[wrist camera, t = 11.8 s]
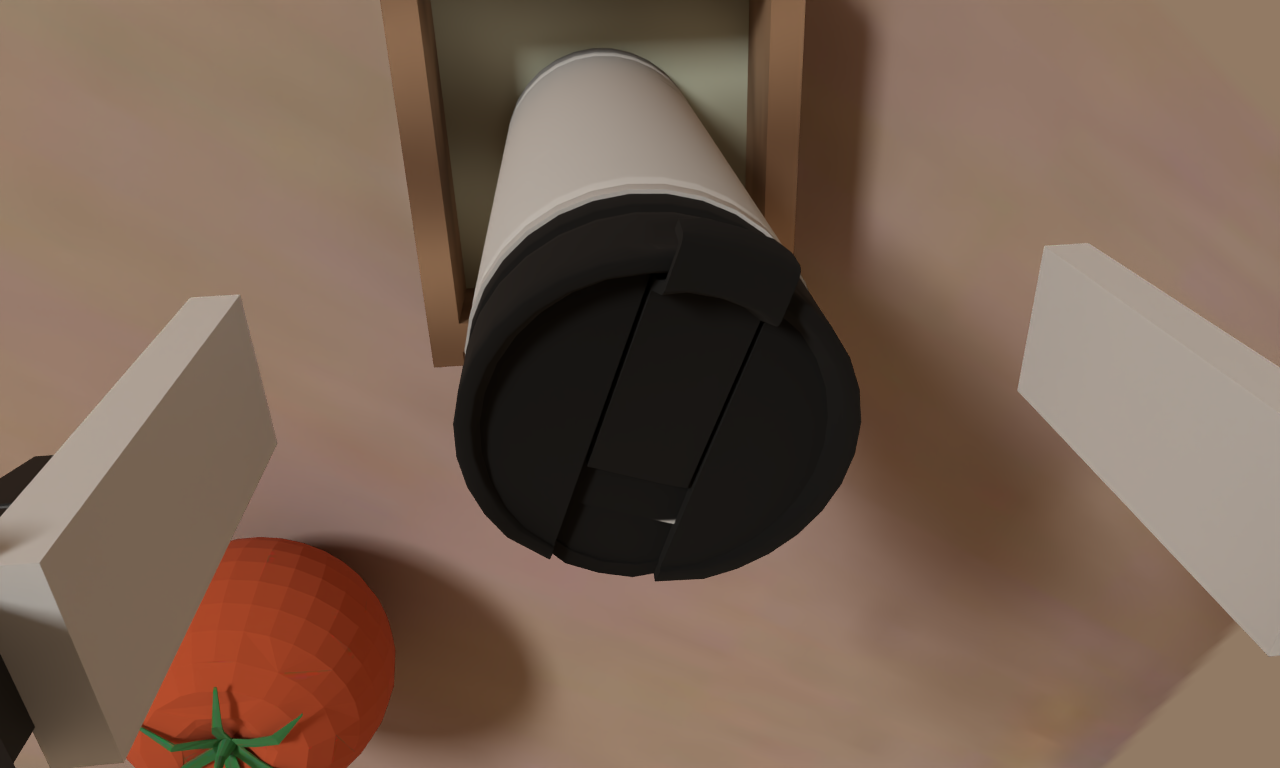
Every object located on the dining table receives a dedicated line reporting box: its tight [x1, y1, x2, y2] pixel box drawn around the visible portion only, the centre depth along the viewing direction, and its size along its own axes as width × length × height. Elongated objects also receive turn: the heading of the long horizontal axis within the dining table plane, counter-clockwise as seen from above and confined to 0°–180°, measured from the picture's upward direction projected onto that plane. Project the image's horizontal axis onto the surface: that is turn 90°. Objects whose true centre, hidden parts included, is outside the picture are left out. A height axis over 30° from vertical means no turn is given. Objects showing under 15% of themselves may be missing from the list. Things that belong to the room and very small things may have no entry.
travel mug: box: [453, 48, 861, 581], centre depth 22 cm, size 6×7×20 cm
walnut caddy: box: [380, 0, 806, 367], centre depth 30 cm, size 13×13×4 cm
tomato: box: [126, 537, 395, 768], centre depth 35 cm, size 10×10×10 cm
